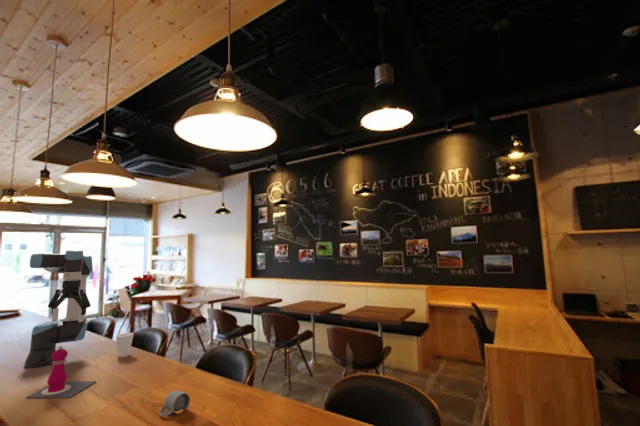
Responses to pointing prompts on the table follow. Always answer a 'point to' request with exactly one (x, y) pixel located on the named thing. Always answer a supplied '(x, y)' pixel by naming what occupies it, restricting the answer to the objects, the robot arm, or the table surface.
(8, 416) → the table surface
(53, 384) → the pepper mill
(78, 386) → the mat
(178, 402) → the ceramic mug
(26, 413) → the table surface
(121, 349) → the foam cup
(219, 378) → the table surface
